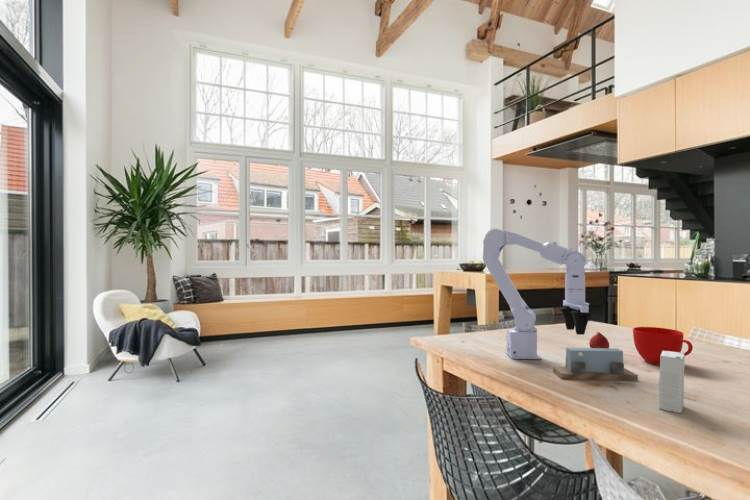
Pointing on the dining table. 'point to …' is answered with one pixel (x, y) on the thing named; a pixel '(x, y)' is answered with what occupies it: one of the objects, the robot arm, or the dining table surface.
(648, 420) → the dining table surface
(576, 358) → the pale blue rectangular block
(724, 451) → the dining table surface
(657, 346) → the ceramic cup
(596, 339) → the onion
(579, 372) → the rail
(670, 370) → the skincare box
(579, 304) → the robot arm
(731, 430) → the dining table surface
